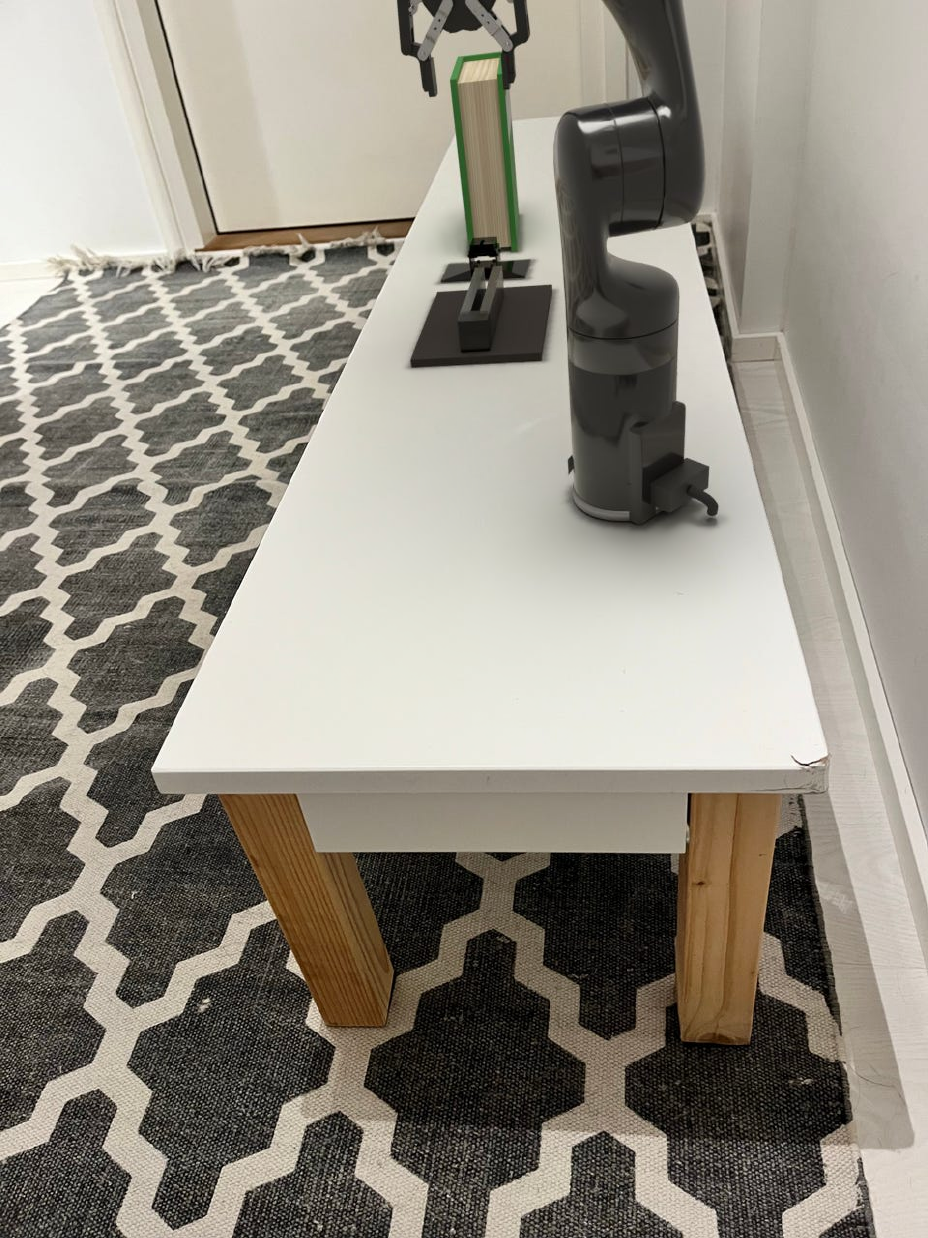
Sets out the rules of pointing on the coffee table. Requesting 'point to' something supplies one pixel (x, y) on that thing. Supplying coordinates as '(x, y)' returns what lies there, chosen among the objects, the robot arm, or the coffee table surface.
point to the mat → (513, 336)
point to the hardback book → (485, 149)
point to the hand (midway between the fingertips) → (470, 91)
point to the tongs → (481, 311)
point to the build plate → (485, 263)
